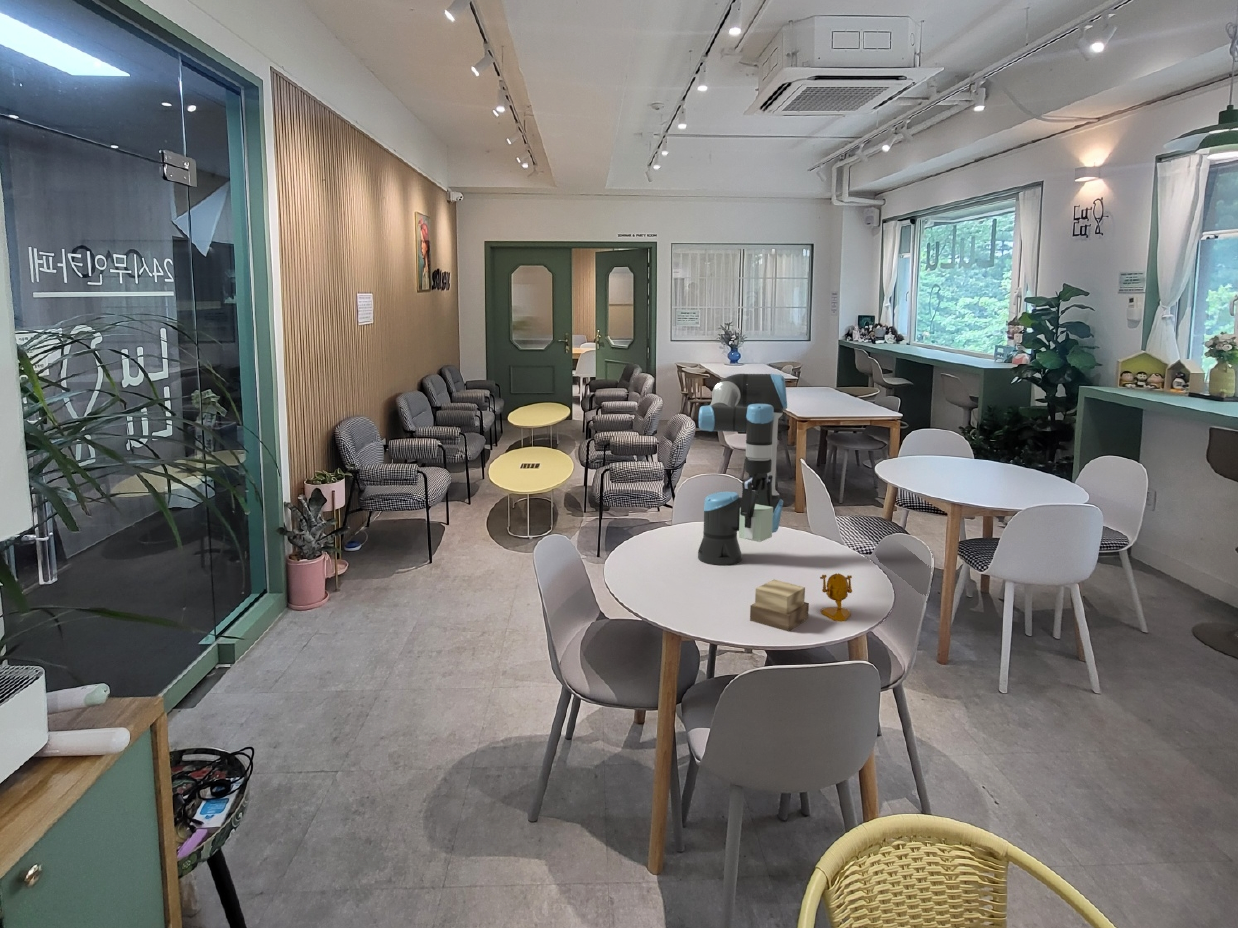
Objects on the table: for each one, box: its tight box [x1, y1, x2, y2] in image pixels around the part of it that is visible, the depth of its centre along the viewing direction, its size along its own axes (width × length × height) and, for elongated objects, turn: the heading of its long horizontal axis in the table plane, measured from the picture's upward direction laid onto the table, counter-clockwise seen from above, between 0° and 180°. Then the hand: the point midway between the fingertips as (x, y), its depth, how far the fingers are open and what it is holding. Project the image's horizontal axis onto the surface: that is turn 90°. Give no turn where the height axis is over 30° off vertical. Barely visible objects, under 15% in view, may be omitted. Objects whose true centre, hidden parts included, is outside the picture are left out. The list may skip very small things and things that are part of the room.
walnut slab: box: [749, 601, 810, 632], centre depth 231 cm, size 12×12×5 cm
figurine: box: [819, 573, 853, 622], centre depth 234 cm, size 8×11×12 cm
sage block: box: [738, 504, 773, 543], centre depth 237 cm, size 7×7×9 cm
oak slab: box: [754, 579, 806, 614], centre depth 230 cm, size 10×10×5 cm
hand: (755, 535), depth 238 cm, fingers closed on sage block, 7 cm apart
